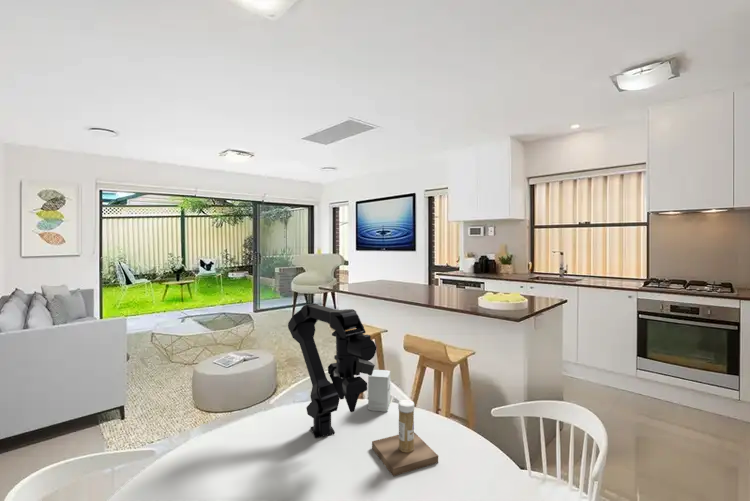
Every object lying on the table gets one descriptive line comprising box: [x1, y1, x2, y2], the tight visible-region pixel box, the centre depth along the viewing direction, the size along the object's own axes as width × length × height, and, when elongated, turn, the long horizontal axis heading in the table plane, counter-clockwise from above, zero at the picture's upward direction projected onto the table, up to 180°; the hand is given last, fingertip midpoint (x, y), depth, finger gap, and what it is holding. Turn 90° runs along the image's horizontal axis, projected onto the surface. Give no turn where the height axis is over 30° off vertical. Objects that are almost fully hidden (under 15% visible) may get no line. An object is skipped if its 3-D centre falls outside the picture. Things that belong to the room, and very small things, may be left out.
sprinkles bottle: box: [397, 399, 415, 453], centre depth 103 cm, size 5×5×13 cm
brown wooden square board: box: [371, 431, 439, 477], centre depth 103 cm, size 14×14×2 cm
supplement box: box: [367, 369, 391, 413], centre depth 133 cm, size 7×7×13 cm
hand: (346, 405), depth 106 cm, fingers open, 9 cm apart
